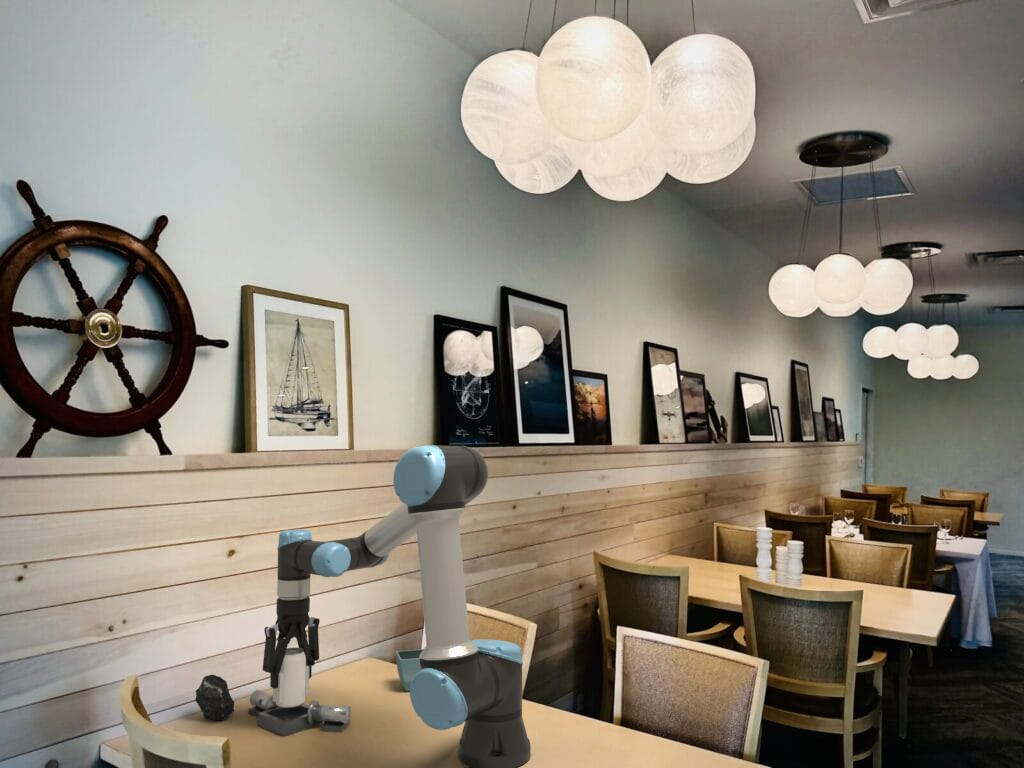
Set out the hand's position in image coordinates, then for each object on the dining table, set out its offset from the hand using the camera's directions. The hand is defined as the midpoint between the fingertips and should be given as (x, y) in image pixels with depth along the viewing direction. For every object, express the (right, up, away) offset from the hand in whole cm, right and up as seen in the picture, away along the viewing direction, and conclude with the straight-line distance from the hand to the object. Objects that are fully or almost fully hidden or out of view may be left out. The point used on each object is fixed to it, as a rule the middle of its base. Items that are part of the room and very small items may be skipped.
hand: (290, 697), depth 171 cm
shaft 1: (-8, -7, +6) cm, 12 cm away
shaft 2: (+10, -6, -2) cm, 12 cm away
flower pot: (+25, -8, +25) cm, 37 cm away
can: (0, -2, 0) cm, 2 cm away
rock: (-19, -7, +3) cm, 20 cm away
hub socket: (0, -6, -1) cm, 6 cm away
